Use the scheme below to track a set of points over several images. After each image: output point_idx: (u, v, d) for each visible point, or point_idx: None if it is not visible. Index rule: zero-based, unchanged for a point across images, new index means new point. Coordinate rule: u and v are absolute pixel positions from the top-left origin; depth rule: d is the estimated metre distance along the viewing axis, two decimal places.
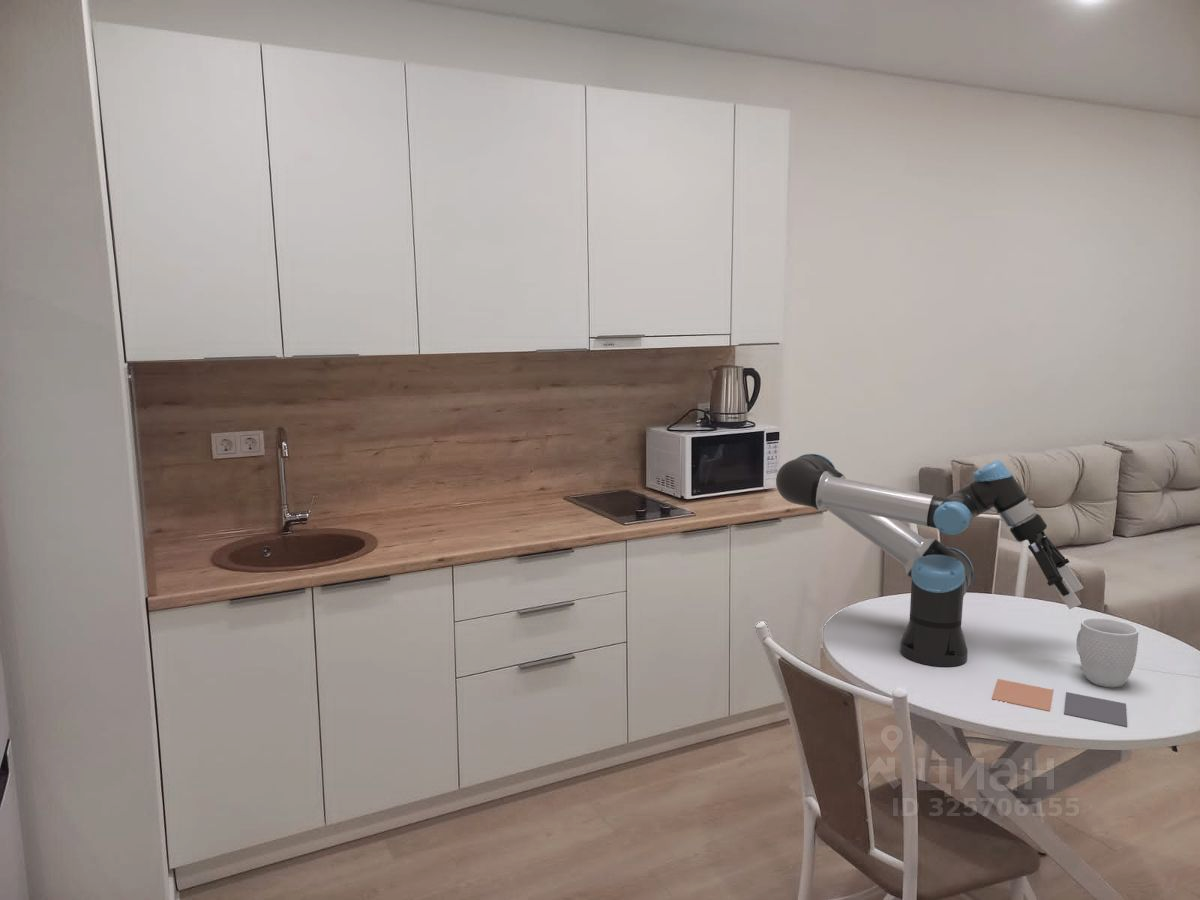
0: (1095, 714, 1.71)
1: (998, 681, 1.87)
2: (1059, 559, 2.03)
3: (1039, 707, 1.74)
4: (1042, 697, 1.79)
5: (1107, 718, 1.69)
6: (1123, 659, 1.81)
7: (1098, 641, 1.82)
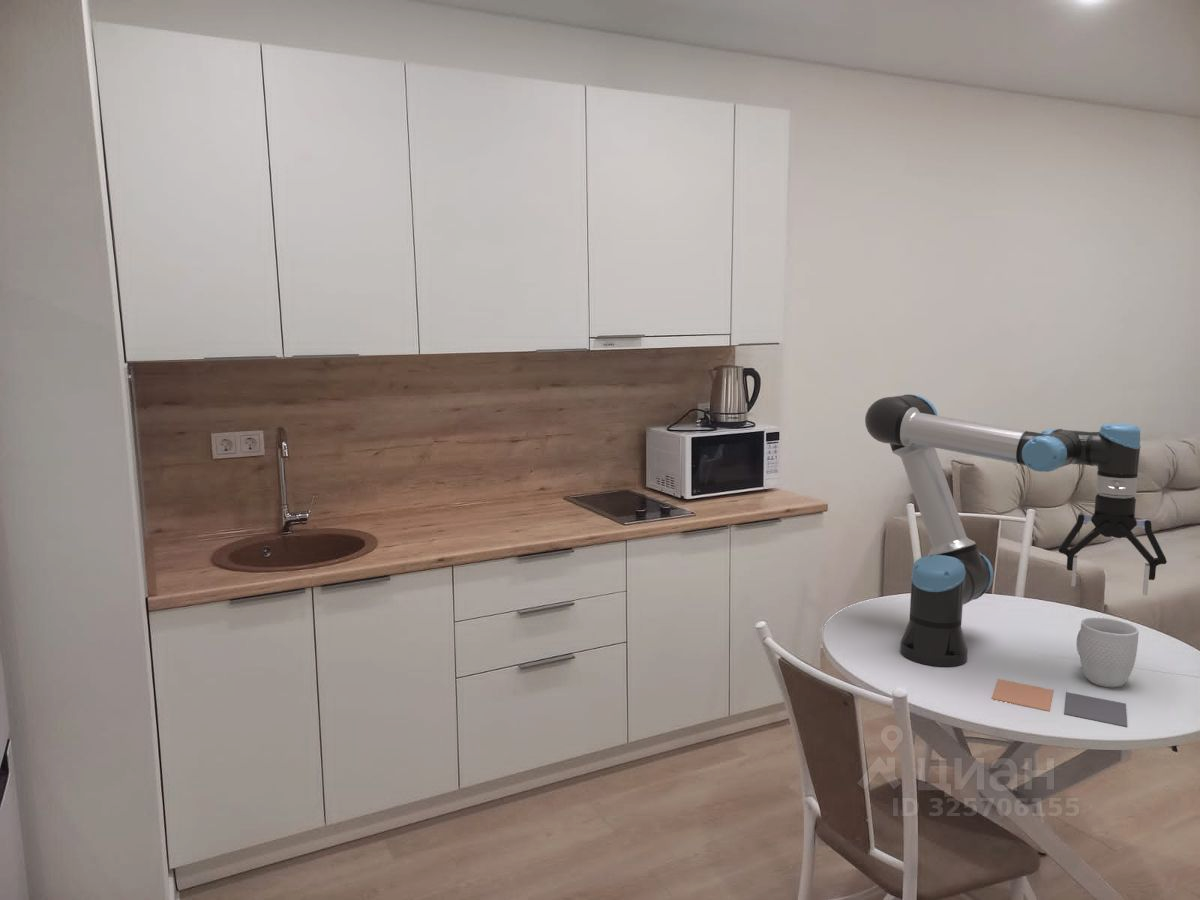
0: (1095, 714, 1.71)
1: (998, 681, 1.87)
2: (1142, 555, 1.81)
3: (1039, 707, 1.74)
4: (1042, 697, 1.79)
5: (1107, 718, 1.69)
6: (1123, 659, 1.81)
7: (1098, 641, 1.82)
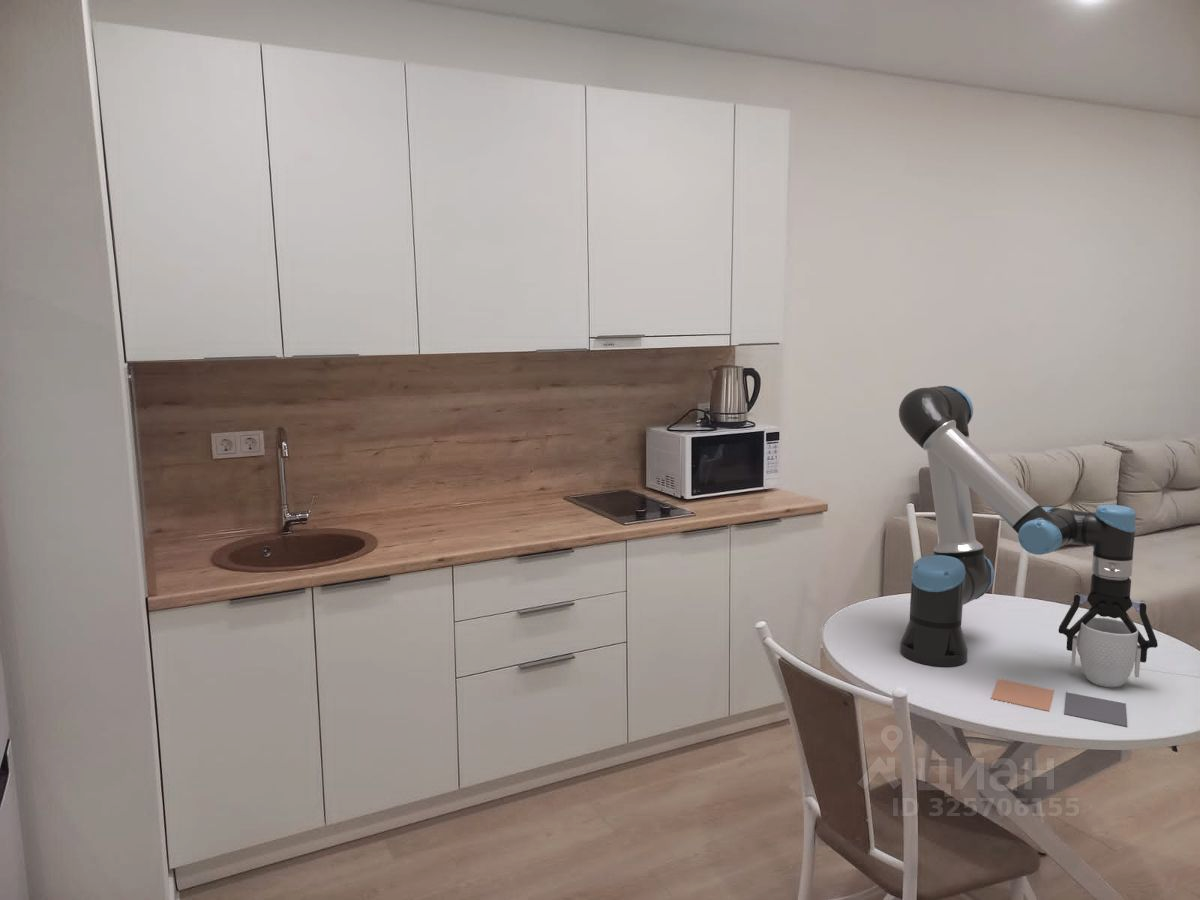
0: (1095, 714, 1.71)
1: (999, 681, 1.87)
2: None
3: (1038, 707, 1.74)
4: (1042, 697, 1.79)
5: (1107, 718, 1.69)
6: (1123, 659, 1.81)
7: (1098, 641, 1.82)
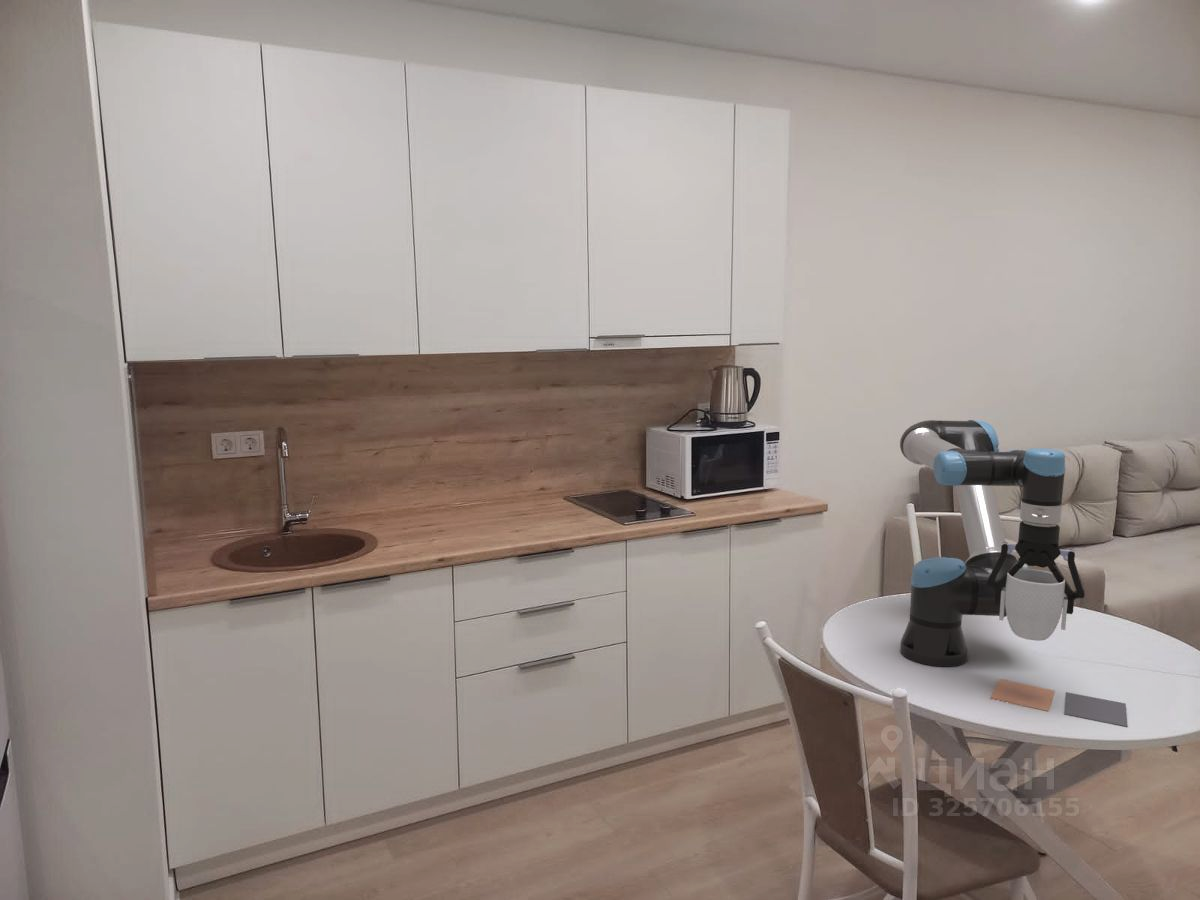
0: (1095, 715, 1.71)
1: (999, 681, 1.87)
2: None
3: (1037, 707, 1.74)
4: (1042, 697, 1.79)
5: (1107, 718, 1.69)
6: (1048, 610, 1.72)
7: (1023, 591, 1.73)
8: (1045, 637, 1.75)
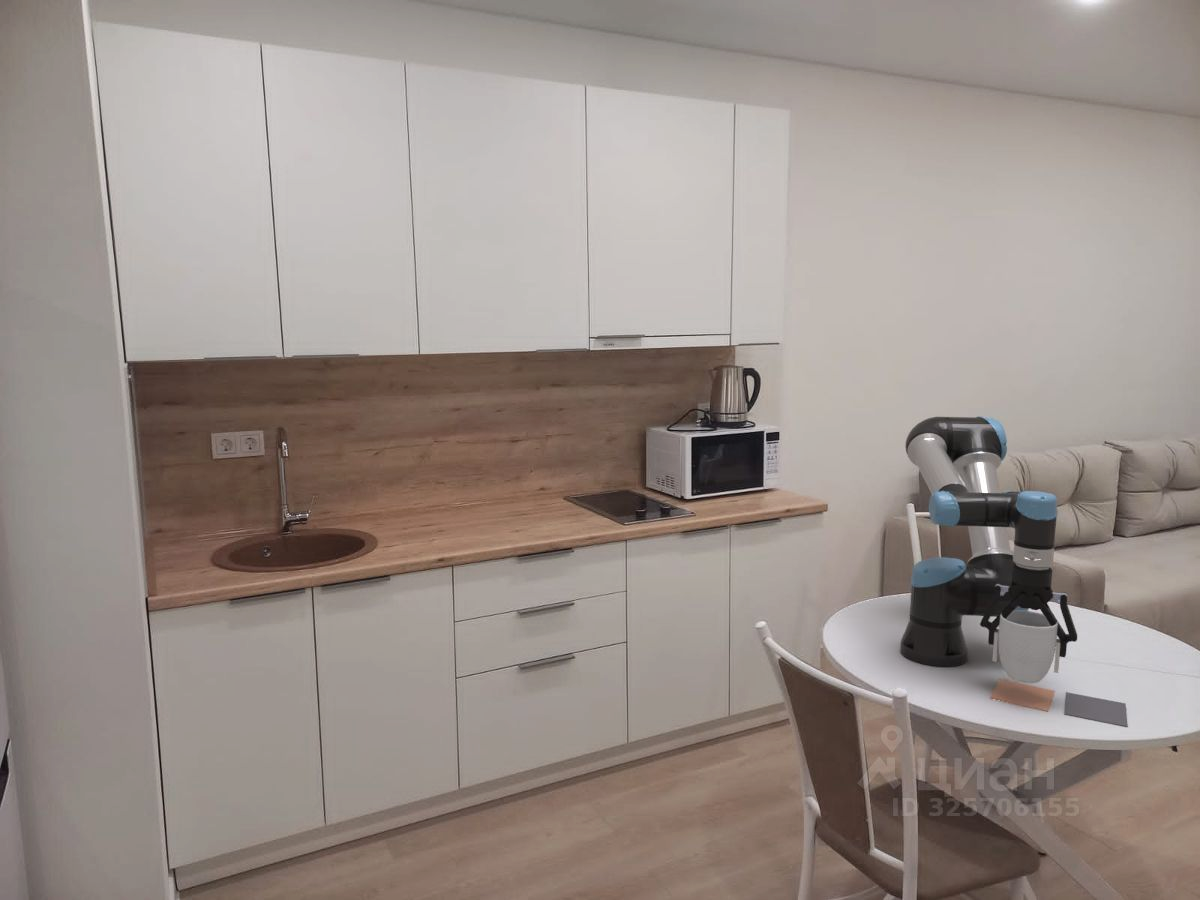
0: (1095, 715, 1.71)
1: (1000, 681, 1.87)
2: None
3: (1037, 707, 1.74)
4: (1042, 697, 1.79)
5: (1107, 718, 1.69)
6: (1040, 653, 1.73)
7: (1015, 634, 1.74)
8: (1037, 680, 1.75)
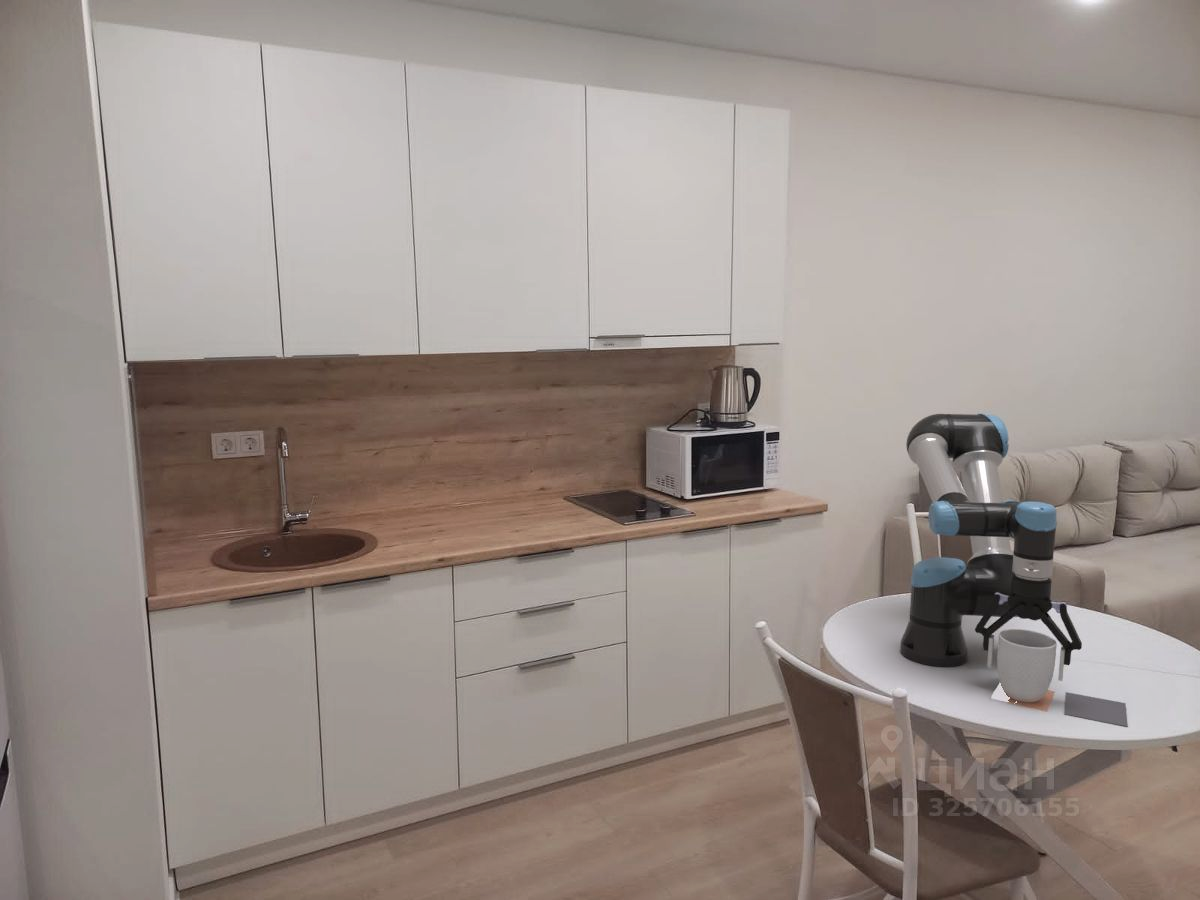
0: (1095, 715, 1.71)
1: None
2: None
3: (1036, 708, 1.74)
4: (1042, 698, 1.79)
5: (1107, 718, 1.69)
6: (1039, 673, 1.73)
7: (1013, 654, 1.75)
8: (1036, 699, 1.76)
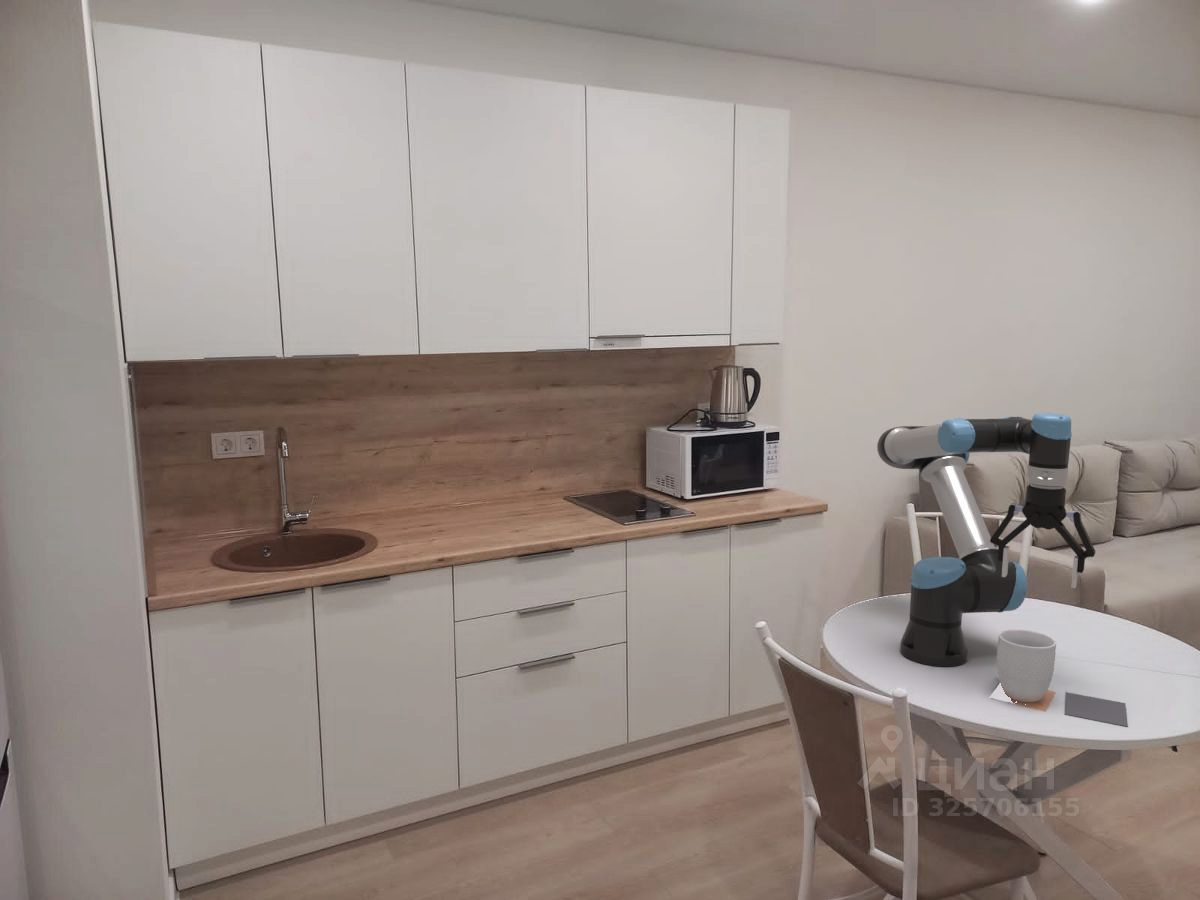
0: (1095, 715, 1.71)
1: None
2: None
3: (1035, 708, 1.74)
4: (1042, 698, 1.79)
5: (1108, 718, 1.69)
6: (1039, 673, 1.73)
7: (1013, 654, 1.75)
8: (1036, 699, 1.76)
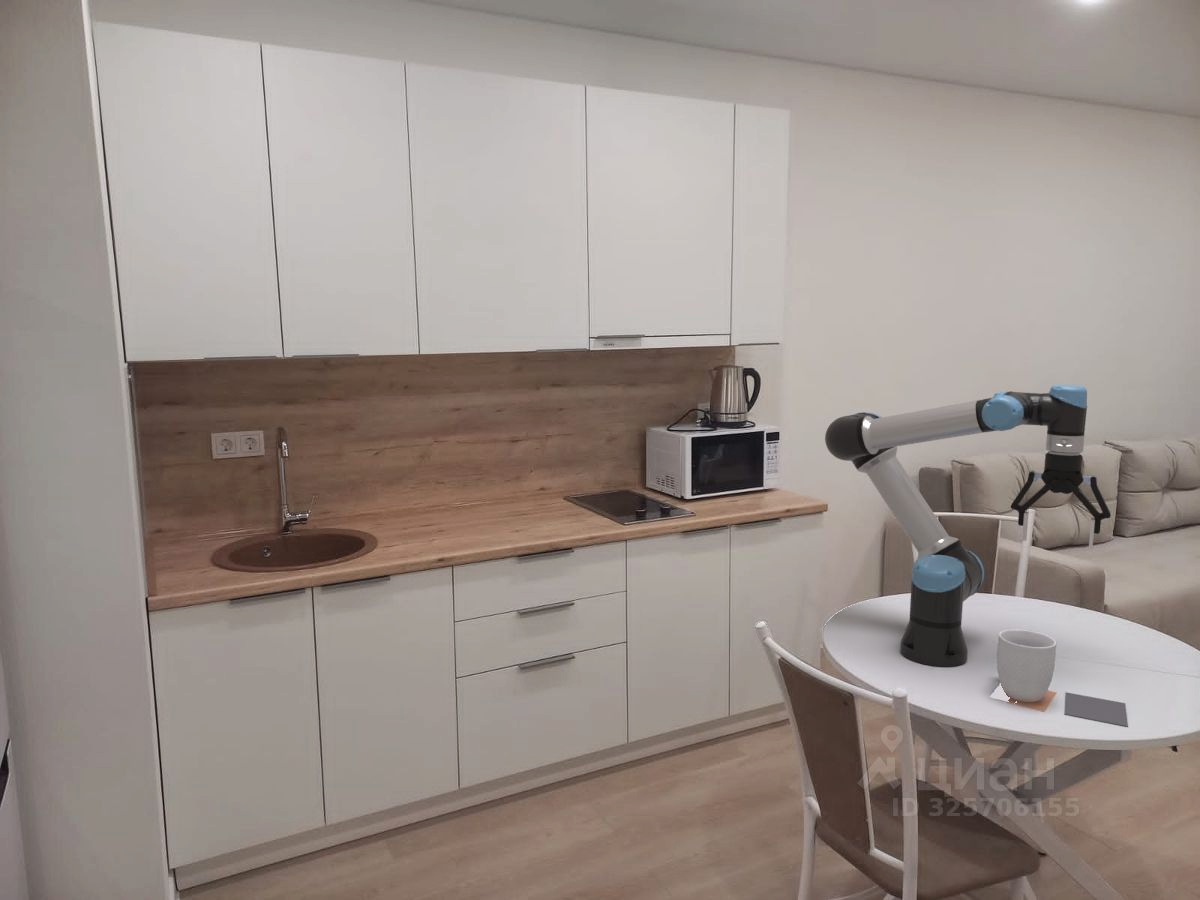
0: (1095, 715, 1.71)
1: None
2: (1088, 510, 1.90)
3: (1034, 708, 1.74)
4: (1041, 699, 1.78)
5: (1108, 718, 1.69)
6: (1039, 673, 1.73)
7: (1014, 654, 1.75)
8: (1037, 699, 1.76)
